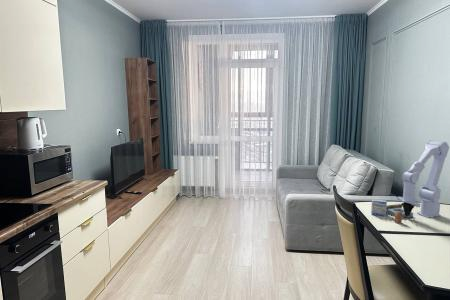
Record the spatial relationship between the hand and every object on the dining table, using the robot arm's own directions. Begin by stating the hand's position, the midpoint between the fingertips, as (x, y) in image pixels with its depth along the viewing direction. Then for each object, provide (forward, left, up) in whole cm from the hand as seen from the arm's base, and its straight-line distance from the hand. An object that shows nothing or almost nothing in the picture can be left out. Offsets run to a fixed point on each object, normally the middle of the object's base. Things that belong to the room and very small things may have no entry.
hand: (407, 215), depth 184 cm
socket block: (0, -6, -2) cm, 6 cm away
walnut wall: (0, -12, -2) cm, 12 cm away
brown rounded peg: (+10, +4, -2) cm, 11 cm away
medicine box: (+11, -10, -2) cm, 15 cm away
